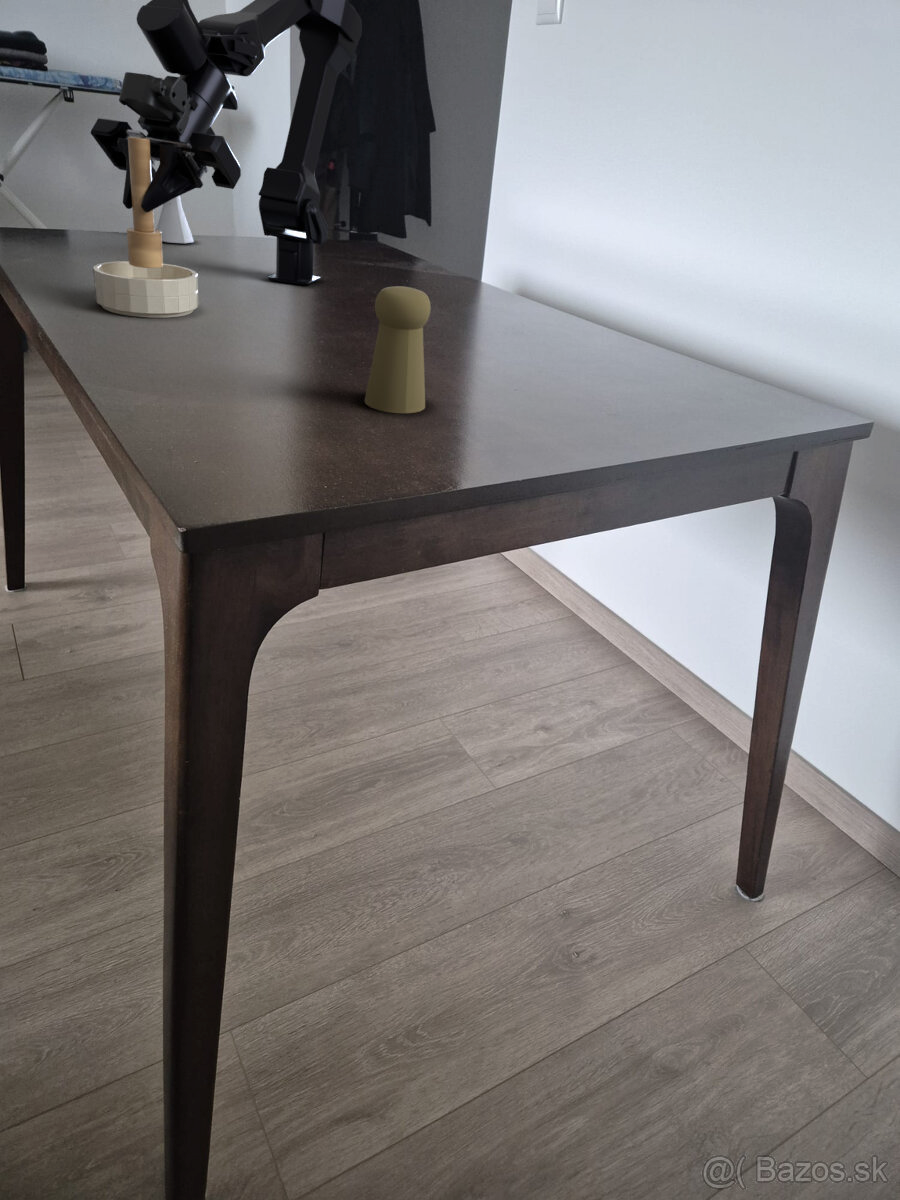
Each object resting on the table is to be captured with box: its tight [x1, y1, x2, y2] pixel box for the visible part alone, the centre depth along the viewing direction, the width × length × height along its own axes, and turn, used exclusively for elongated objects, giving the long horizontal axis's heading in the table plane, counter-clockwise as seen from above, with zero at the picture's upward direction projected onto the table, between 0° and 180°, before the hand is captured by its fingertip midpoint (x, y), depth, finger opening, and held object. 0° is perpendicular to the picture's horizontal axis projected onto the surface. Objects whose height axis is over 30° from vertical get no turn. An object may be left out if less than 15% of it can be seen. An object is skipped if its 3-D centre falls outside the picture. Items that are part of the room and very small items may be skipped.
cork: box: [364, 285, 432, 414], centre depth 83 cm, size 6×6×11 cm
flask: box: [155, 195, 195, 244], centre depth 155 cm, size 7×7×10 cm
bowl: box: [92, 260, 200, 319], centre depth 109 cm, size 12×12×4 cm
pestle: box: [126, 137, 164, 268], centre depth 104 cm, size 4×4×14 cm
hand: (134, 207), depth 103 cm, fingers closed on pestle, 2 cm apart
